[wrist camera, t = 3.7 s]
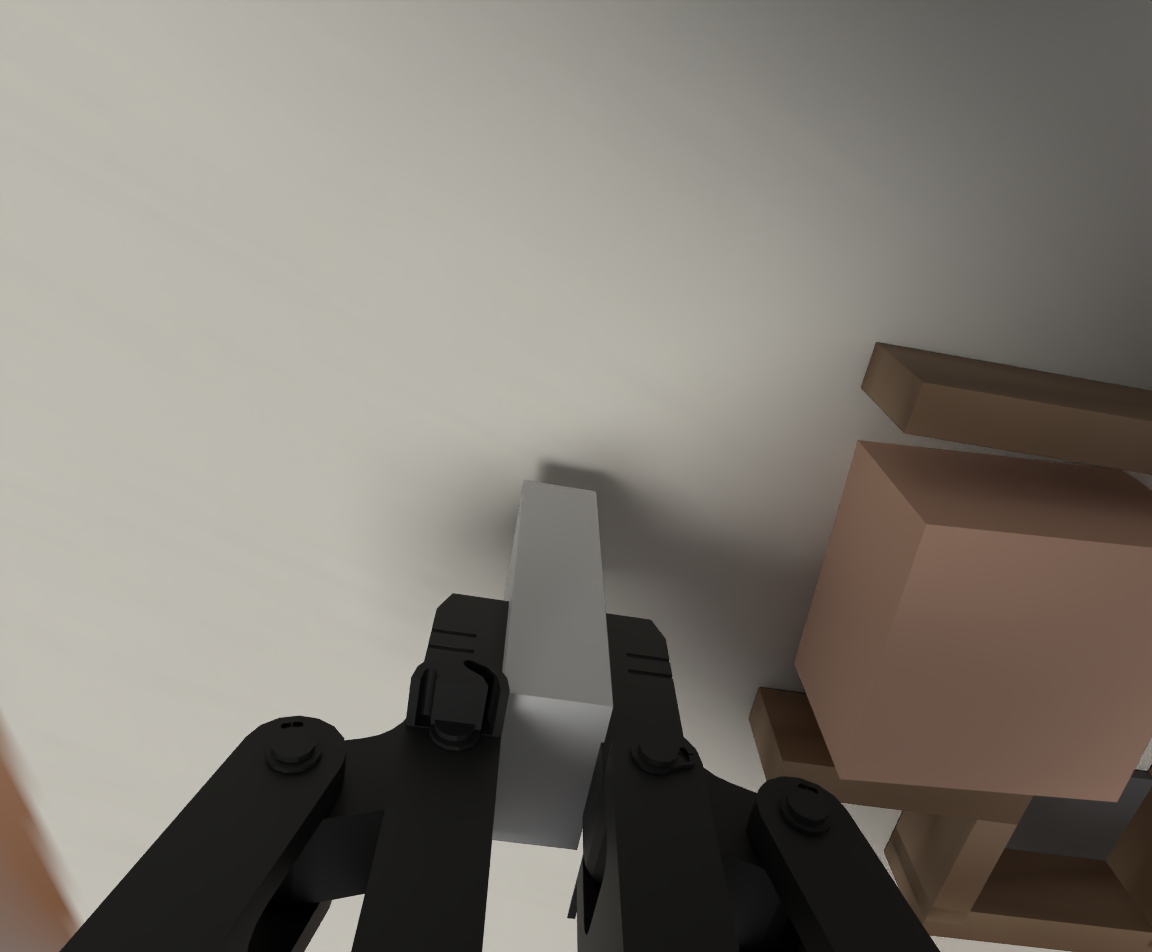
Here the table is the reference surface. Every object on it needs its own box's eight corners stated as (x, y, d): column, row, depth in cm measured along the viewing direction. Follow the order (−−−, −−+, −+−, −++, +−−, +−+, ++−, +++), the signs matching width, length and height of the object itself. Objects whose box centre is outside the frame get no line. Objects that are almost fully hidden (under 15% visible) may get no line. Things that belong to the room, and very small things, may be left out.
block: (855, 436, 19) (926, 523, 15) (1115, 465, 19) (1246, 557, 15) (792, 658, 21) (840, 778, 17) (1023, 679, 21) (1116, 801, 18)
